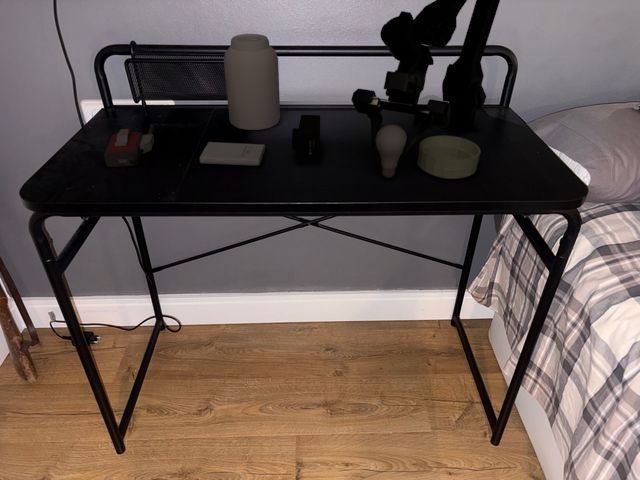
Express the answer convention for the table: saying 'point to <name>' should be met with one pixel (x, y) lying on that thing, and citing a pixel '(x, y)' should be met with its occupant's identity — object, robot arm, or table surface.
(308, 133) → the digital camera
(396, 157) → the lightbulb
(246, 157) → the hard drive
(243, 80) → the wide mouth jar
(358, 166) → the table surface
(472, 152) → the bowl
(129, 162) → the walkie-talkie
